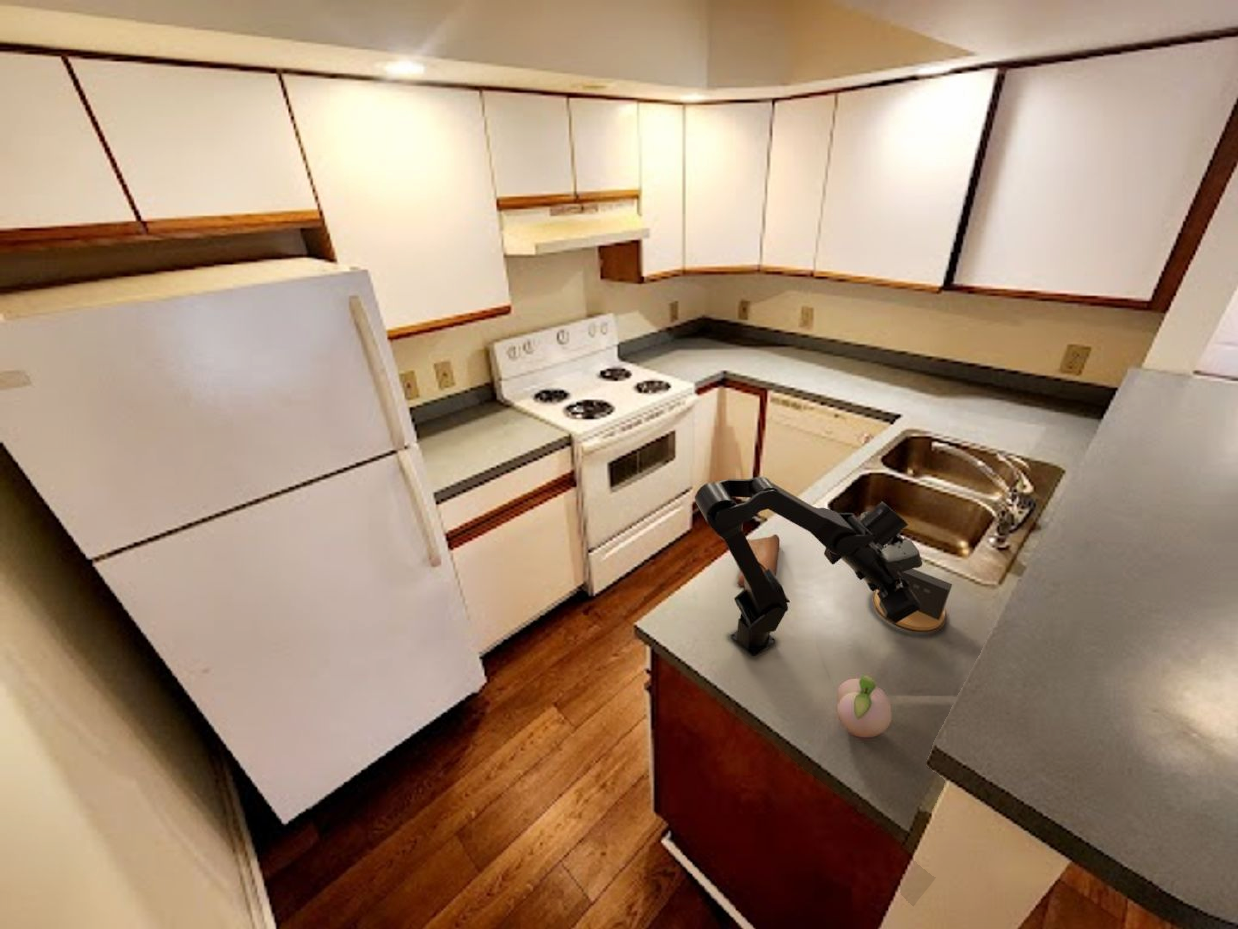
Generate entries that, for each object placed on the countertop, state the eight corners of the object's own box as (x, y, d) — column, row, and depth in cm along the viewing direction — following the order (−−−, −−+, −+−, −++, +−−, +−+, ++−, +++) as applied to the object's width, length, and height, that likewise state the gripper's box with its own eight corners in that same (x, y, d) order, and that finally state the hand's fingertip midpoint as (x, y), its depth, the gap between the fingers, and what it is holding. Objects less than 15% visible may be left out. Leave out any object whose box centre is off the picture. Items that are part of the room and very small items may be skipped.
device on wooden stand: (932, 641, 105) (944, 607, 100) (864, 609, 113) (872, 577, 108) (951, 604, 113) (963, 571, 109) (887, 577, 121) (895, 546, 117)
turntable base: (921, 646, 105) (922, 643, 104) (857, 606, 115) (858, 602, 115) (958, 615, 112) (959, 611, 111) (894, 579, 122) (895, 576, 121)
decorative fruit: (885, 760, 85) (899, 720, 81) (831, 743, 88) (841, 704, 83) (883, 711, 93) (895, 672, 88) (834, 697, 96) (842, 659, 91)
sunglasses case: (744, 538, 137) (760, 522, 133) (767, 553, 137) (783, 537, 133) (736, 585, 122) (753, 568, 118) (761, 601, 122) (779, 585, 118)
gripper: (922, 566, 91) (970, 614, 96) (880, 506, 107) (923, 549, 112) (866, 601, 95) (915, 645, 100) (834, 537, 111) (877, 578, 116)
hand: (908, 601), depth 107 cm, fingers closed
